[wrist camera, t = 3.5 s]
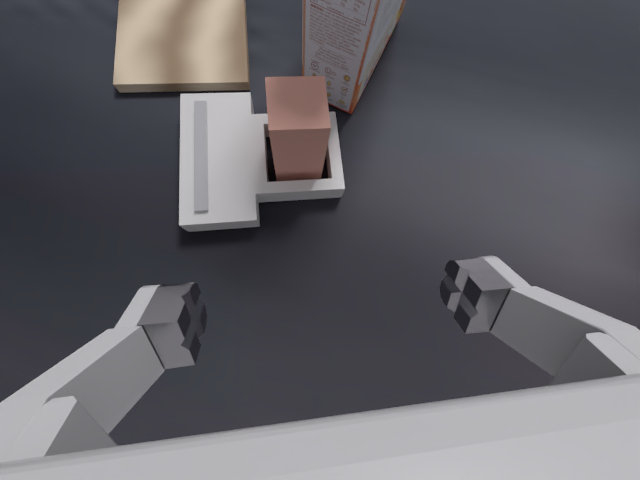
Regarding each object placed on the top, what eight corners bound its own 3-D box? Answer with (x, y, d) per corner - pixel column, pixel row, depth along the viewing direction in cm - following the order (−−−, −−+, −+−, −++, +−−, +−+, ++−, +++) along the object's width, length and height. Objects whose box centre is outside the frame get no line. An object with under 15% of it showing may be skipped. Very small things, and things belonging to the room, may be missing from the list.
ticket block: (316, 142, 27) (324, 76, 19) (320, 181, 26) (330, 128, 18) (274, 144, 26) (265, 77, 18) (277, 183, 25) (268, 130, 18)
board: (245, -6, 30) (243, -17, 29) (249, 89, 27) (248, 82, 26) (126, -8, 29) (120, -19, 28) (119, 92, 26) (112, 84, 25)
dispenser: (330, 105, 28) (333, 88, 25) (344, 220, 25) (348, 212, 23) (189, 109, 26) (179, 91, 24) (188, 231, 24) (177, 224, 21)
